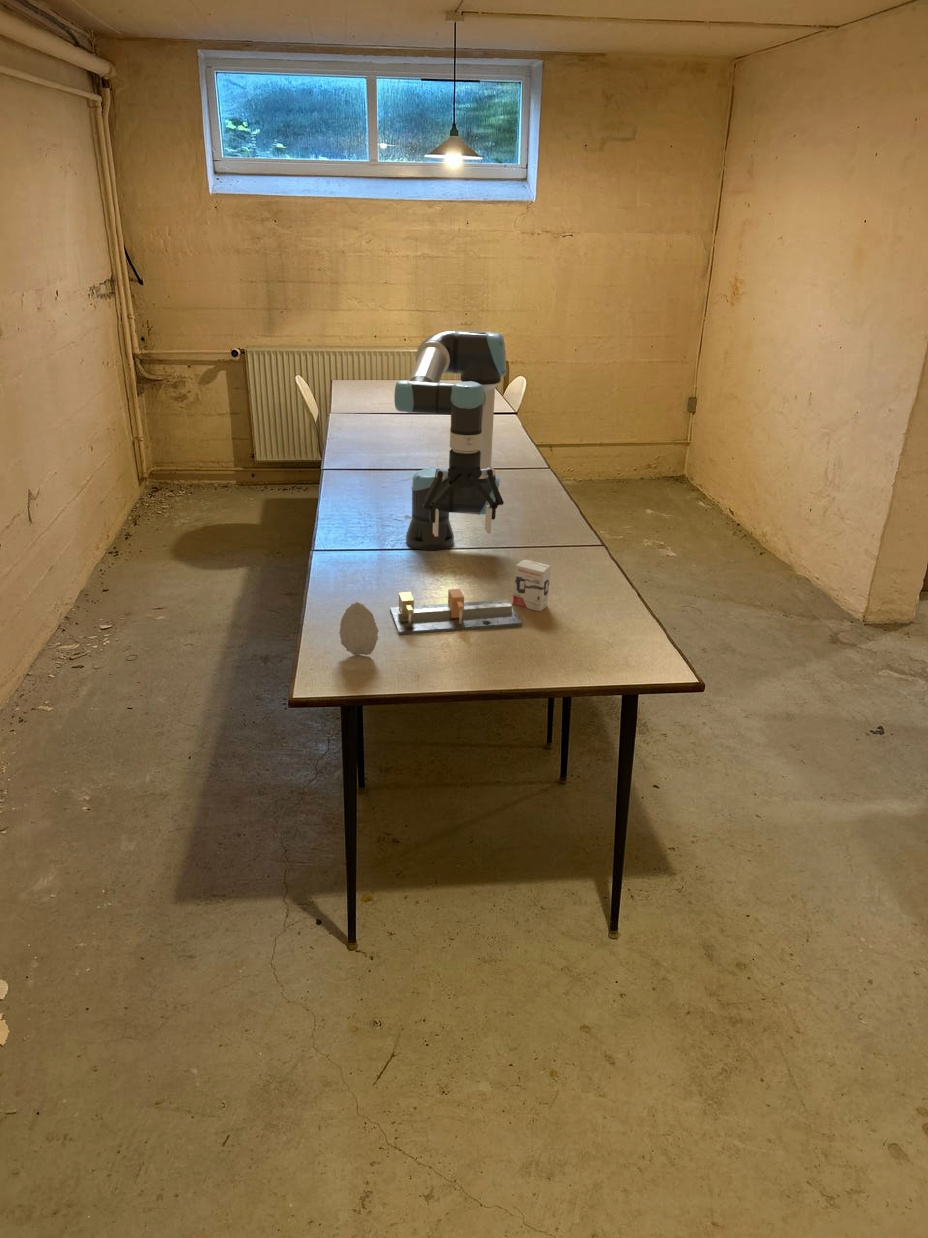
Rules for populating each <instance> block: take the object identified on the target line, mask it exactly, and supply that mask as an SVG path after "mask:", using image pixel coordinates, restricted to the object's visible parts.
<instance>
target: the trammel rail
mask: <svg viewBox="0 0 928 1238" xmlns="http://www.w3.org/2000/svg"><path fill="white" fill-rule="evenodd" d="M414 606H415V599H414V597H413V595H412V592H411V591H402V592H398V607H399V610H398V619H399V621H402V622H404V621H409V625H408V627H409V628H410V627H411V621H413V620H419V619H433V618H447V617H451V608H450V607H441V608H426V609H414ZM512 608H513V604H511V602H509V603H499V604H485V605H470V606H464V611H463V616H475V615H489V614H503V613H512Z"/></svg>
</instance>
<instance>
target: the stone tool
mask: <svg viewBox="0 0 928 1238" xmlns="http://www.w3.org/2000/svg"><path fill="white" fill-rule="evenodd" d="M374 617H375V616H374V615H373V613H372V612H371V610H369V609H368V608H367V607H366V606H365V604H363V603H361V602H359V601H355V602H354V603H351V604H350V606H348V607H347V608H346V609H345V612H343V615H342V618H341V620H340V624H339V625H340V628H339V632H338V633H339V637H340V644H341V646H343V647H344V648H345V649H346V651H347V652H349V653H351V654H352V656H360V655H363V656H364V655H365V656H369V655H371V654H373V653H372V652H374V650H375V649H376V645H377V642H378V640H379V639H378V638H379V636H378V634H379V629H378V626H377V623H376V620H375V618H374Z"/></svg>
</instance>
